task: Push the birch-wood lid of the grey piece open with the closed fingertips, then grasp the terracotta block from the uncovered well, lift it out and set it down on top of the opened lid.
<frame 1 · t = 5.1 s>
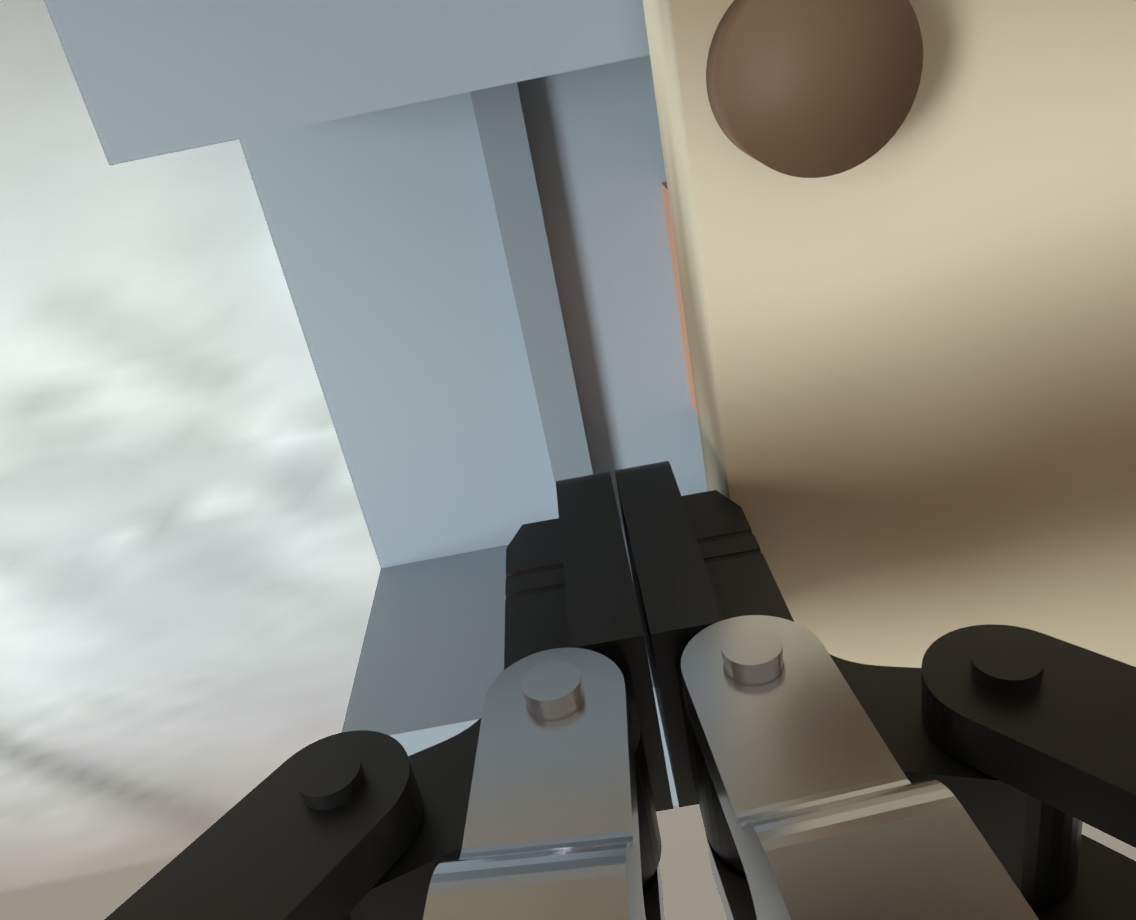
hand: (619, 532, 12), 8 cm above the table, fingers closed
grey piece: (972, 226, 18), on the table
lid: (1098, 396, 11), point 8 cm above the table, slide at 1.9 cm, touching gripper
block: (791, 277, 18), point 1 cm above the table, touching grey piece
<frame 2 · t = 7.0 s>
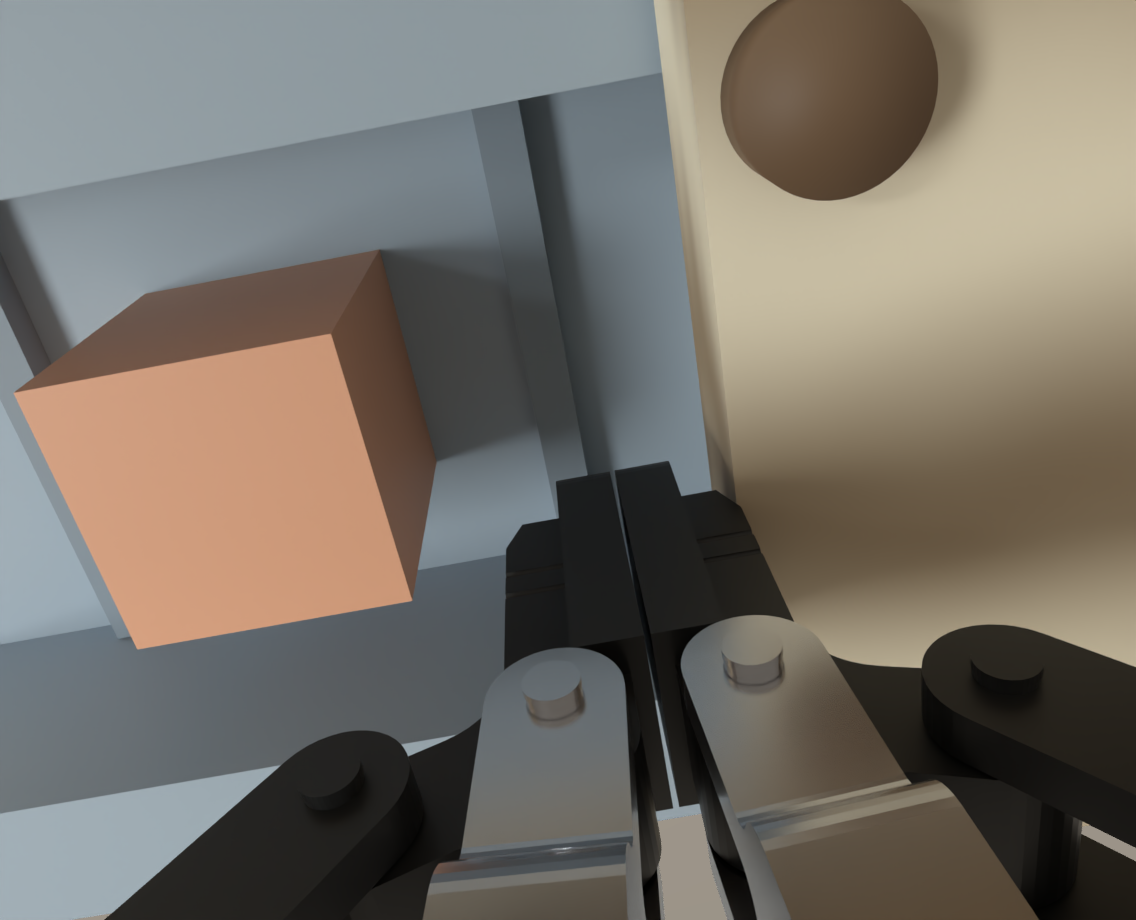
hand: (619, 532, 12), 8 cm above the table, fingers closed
grey piece: (497, 329, 19), on the table
lid: (1105, 417, 11), point 8 cm above the table, slide at 11.8 cm, touching gripper
block: (298, 382, 18), point 1 cm above the table, touching grey piece
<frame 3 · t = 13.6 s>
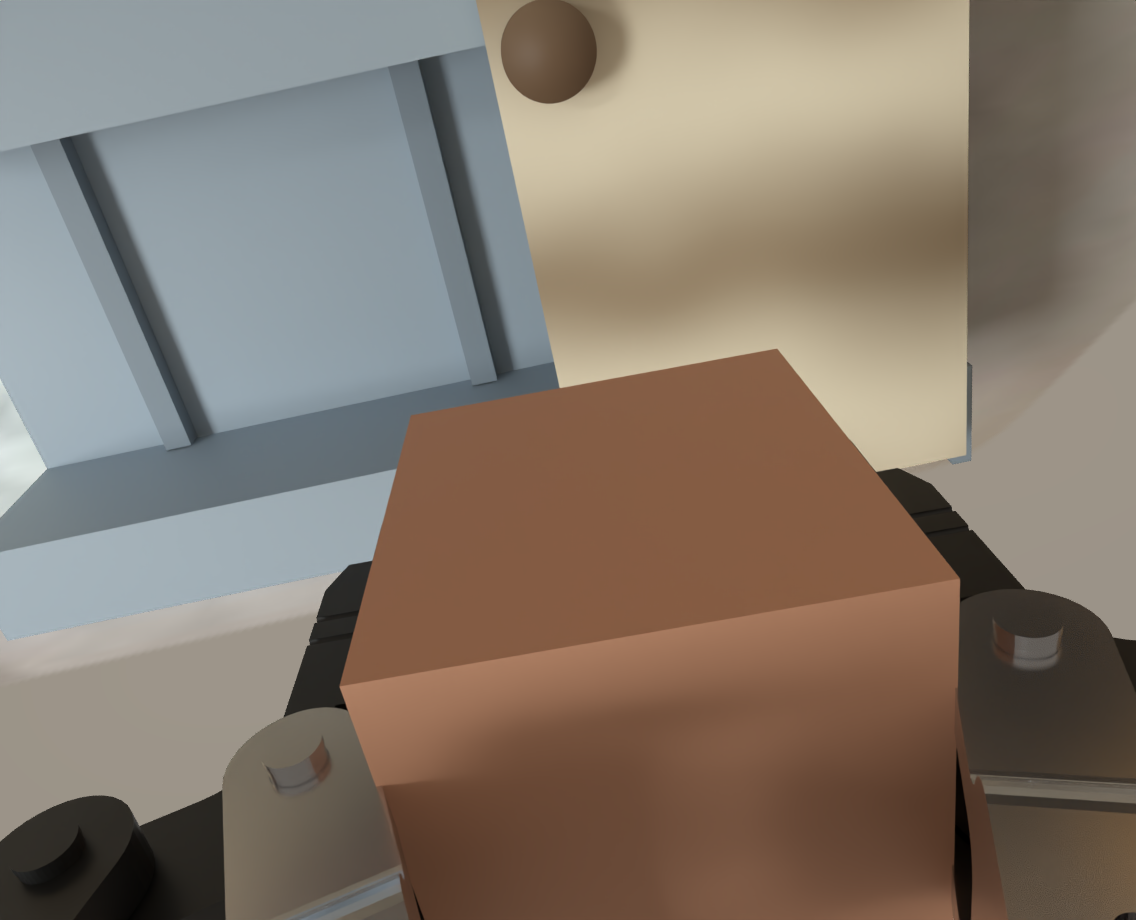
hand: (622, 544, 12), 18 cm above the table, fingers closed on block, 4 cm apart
grey piece: (420, 227, 28), on the table
lid: (744, 231, 20), point 8 cm above the table, slide at 12.0 cm
block: (620, 539, 12), point 18 cm above the table, touching gripper
when the fingers open (10 cm above the table, at t = 15.7 s): block drops 1 cm, resting on lid.
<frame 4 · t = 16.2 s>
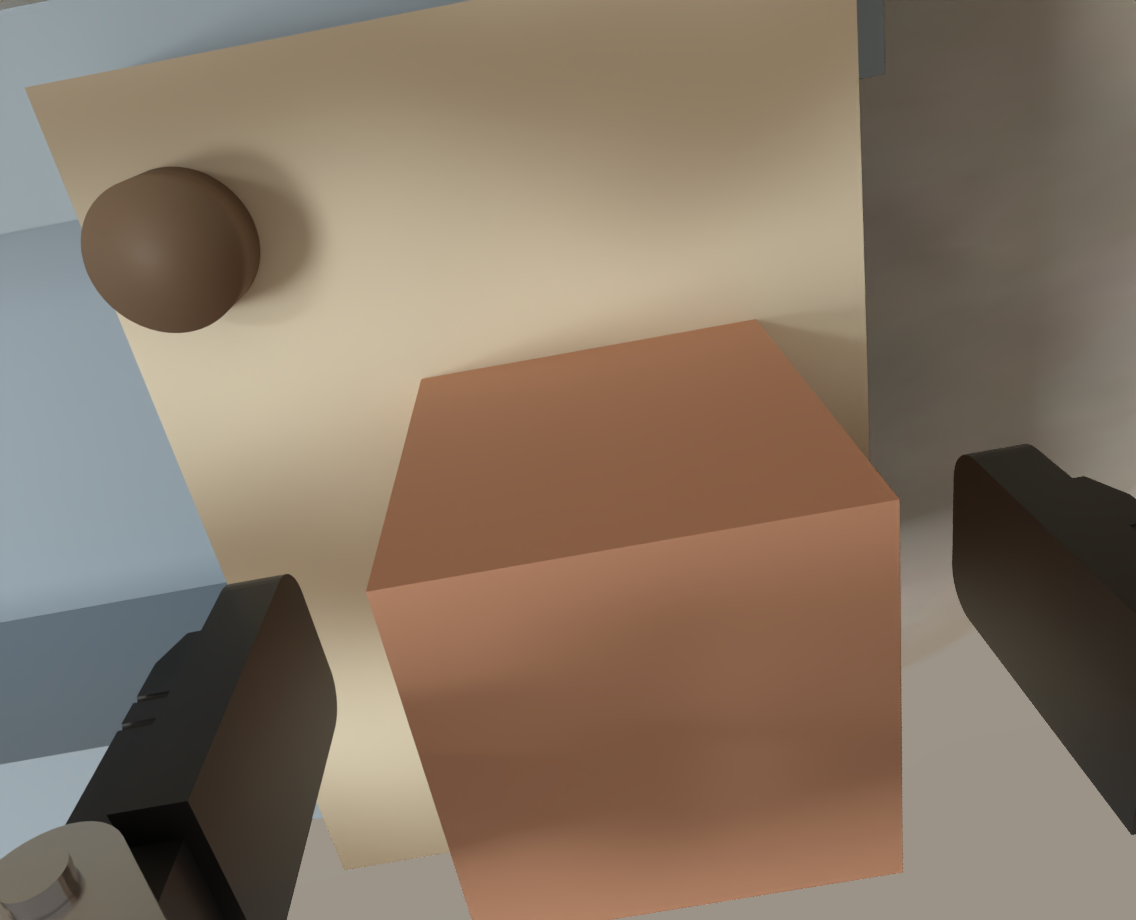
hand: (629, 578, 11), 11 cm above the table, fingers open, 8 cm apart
grey piece: (193, 385, 21), on the table
lid: (539, 486, 14), point 8 cm above the table, slide at 12.0 cm, touching block
block: (612, 496, 13), point 9 cm above the table, touching lid
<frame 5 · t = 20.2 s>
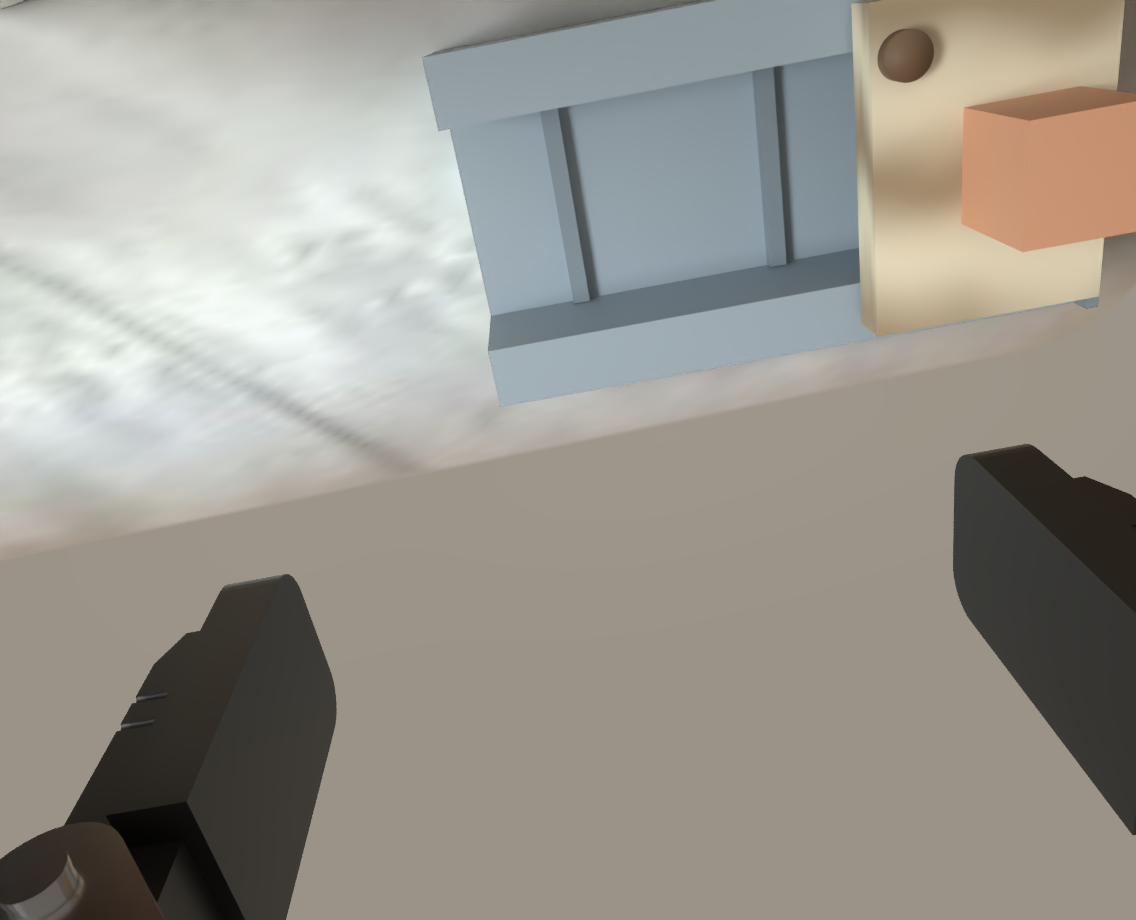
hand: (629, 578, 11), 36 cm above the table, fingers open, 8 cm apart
grey piece: (744, 166, 44), on the table
lid: (985, 158, 37), point 8 cm above the table, slide at 12.0 cm, touching block
block: (1018, 157, 36), point 9 cm above the table, touching lid
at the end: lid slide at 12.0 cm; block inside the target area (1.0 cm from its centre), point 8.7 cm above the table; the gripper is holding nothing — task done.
